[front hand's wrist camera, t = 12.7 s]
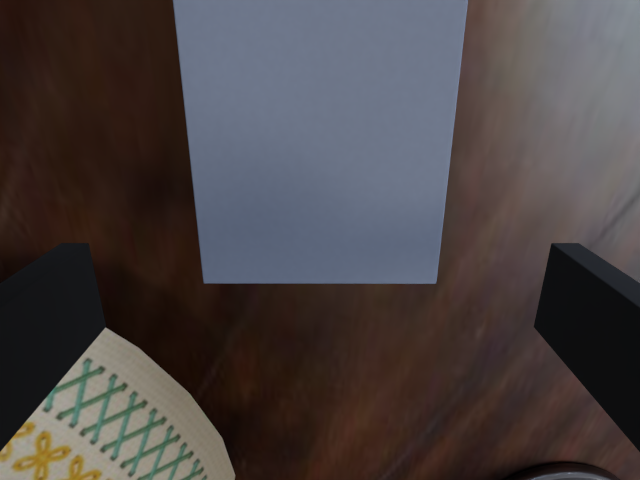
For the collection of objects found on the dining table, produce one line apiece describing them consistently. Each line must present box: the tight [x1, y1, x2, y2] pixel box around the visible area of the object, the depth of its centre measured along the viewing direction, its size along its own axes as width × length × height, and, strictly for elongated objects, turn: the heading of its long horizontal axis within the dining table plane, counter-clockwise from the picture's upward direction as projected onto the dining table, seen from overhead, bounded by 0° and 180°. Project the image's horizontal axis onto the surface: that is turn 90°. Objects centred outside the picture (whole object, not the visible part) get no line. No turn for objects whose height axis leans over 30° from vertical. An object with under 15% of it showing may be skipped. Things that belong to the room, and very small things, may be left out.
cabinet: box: [173, 0, 468, 284], centre depth 21 cm, size 18×11×11 cm, turn 0°
